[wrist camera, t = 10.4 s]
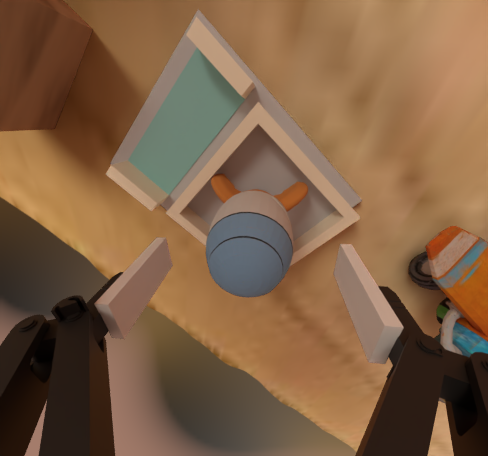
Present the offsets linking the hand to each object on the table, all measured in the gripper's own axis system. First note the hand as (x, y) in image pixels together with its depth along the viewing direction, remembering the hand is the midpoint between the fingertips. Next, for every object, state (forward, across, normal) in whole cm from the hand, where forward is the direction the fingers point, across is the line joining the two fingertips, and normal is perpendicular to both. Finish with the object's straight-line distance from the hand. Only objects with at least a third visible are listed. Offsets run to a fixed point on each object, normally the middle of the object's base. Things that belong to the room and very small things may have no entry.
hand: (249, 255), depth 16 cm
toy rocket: (+11, 0, -1) cm, 11 cm away
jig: (+12, -3, +3) cm, 12 cm away
